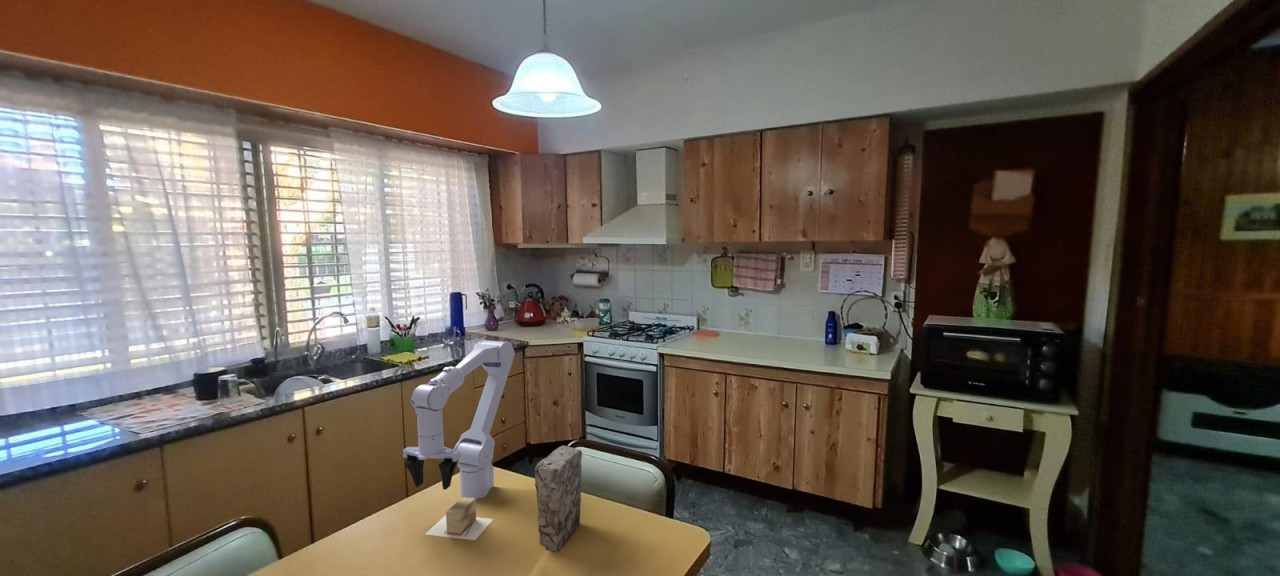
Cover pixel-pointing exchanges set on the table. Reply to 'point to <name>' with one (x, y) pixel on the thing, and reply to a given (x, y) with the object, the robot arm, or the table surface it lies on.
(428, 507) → the table surface
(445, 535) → the board
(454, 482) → the table surface
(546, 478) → the stone block
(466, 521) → the block
